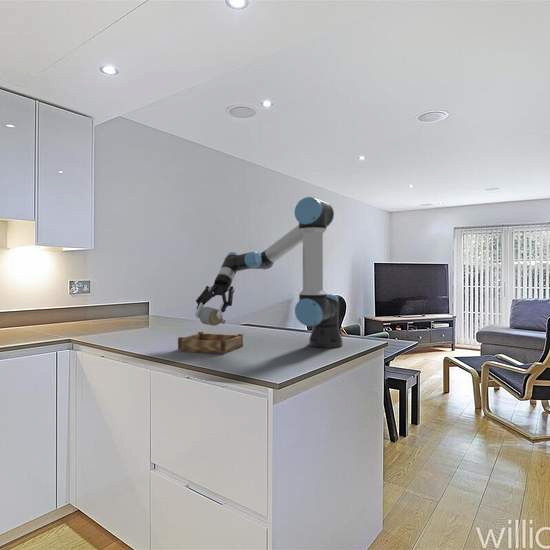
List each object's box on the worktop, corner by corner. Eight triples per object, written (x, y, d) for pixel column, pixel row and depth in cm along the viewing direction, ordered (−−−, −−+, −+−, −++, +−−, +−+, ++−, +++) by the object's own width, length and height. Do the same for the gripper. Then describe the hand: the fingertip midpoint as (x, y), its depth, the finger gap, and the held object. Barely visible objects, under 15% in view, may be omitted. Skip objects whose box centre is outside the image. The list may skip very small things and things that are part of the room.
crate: (243, 346, 177) (243, 334, 177) (224, 354, 160) (224, 340, 160) (200, 343, 185) (200, 331, 185) (178, 350, 168) (178, 337, 168)
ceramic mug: (209, 326, 167) (209, 308, 167) (198, 324, 173) (199, 307, 173) (229, 324, 174) (229, 307, 174) (218, 323, 180) (218, 306, 180)
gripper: (248, 285, 183) (233, 323, 168) (206, 284, 191) (188, 320, 176) (243, 273, 178) (228, 311, 163) (200, 273, 186) (181, 310, 171)
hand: (207, 316), depth 170 cm, fingers closed on ceramic mug, 10 cm apart
